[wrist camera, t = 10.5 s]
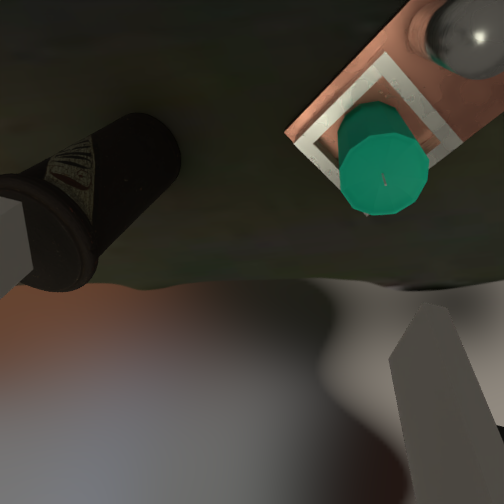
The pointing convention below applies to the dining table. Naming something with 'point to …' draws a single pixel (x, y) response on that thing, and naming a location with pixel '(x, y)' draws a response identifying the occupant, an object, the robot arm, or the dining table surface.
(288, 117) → the dining table surface
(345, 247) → the dining table surface
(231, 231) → the dining table surface
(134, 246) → the dining table surface
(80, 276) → the container
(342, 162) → the candle
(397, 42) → the brown stand with post
